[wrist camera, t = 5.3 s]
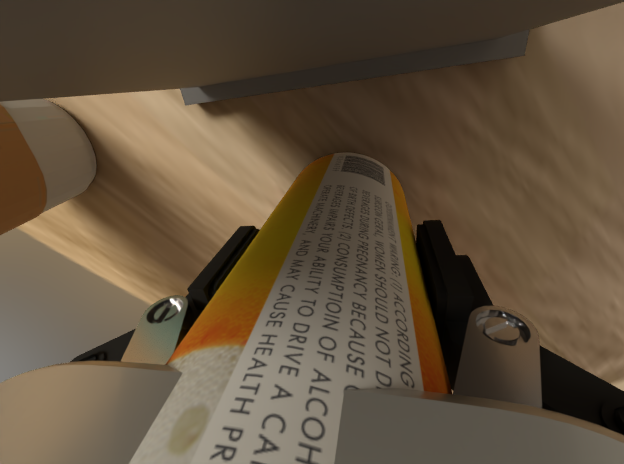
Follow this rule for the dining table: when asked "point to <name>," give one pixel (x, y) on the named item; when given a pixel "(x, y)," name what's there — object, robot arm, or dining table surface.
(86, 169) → the coffee cup
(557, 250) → the dining table surface
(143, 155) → the dining table surface
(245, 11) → the screen
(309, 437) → the beer can
